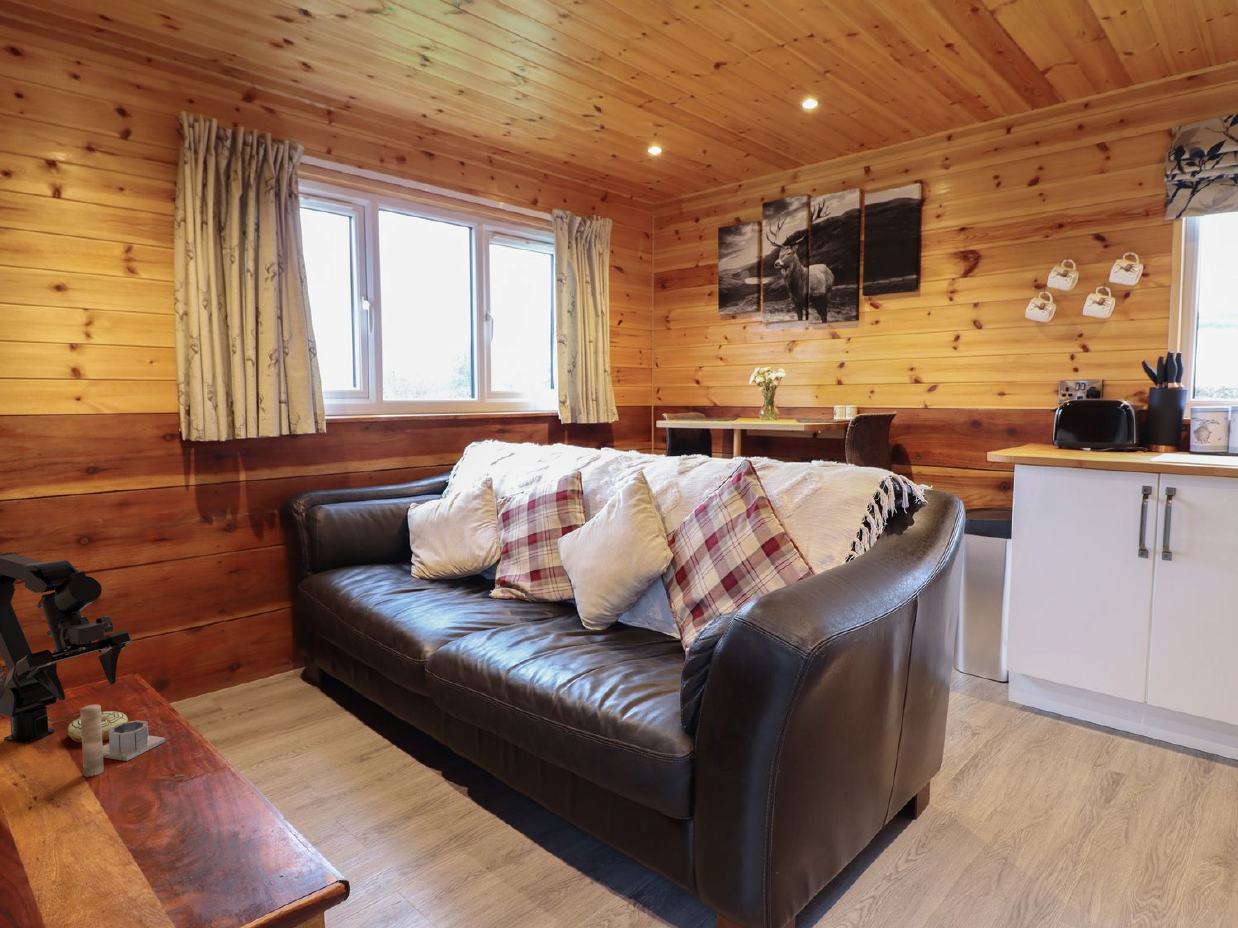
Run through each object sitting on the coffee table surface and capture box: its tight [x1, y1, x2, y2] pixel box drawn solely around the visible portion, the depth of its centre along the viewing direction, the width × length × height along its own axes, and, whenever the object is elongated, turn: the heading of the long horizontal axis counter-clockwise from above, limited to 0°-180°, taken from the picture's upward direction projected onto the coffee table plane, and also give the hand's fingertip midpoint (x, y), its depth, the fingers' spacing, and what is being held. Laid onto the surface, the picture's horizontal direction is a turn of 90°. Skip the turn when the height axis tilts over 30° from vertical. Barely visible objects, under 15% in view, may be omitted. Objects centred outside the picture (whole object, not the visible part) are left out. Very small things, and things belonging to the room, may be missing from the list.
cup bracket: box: [103, 719, 166, 762], centre depth 152 cm, size 9×9×4 cm
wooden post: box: [79, 704, 105, 778], centre depth 142 cm, size 3×3×13 cm
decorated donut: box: [67, 710, 129, 743], centre depth 159 cm, size 10×11×4 cm
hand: (88, 691), depth 147 cm, fingers open, 9 cm apart
